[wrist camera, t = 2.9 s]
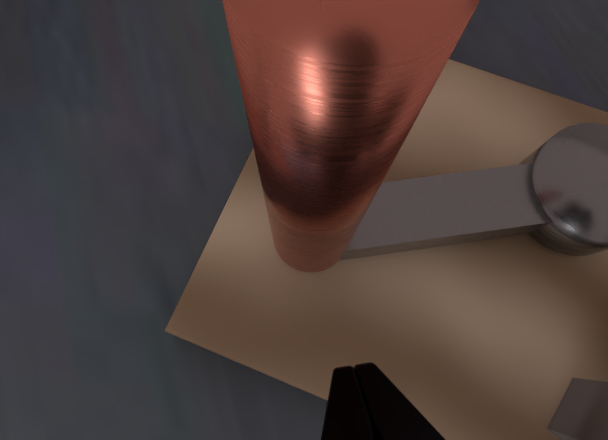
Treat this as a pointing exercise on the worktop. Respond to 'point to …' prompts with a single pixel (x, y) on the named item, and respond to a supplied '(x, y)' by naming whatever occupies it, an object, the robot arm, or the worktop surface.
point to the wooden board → (426, 289)
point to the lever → (390, 138)
